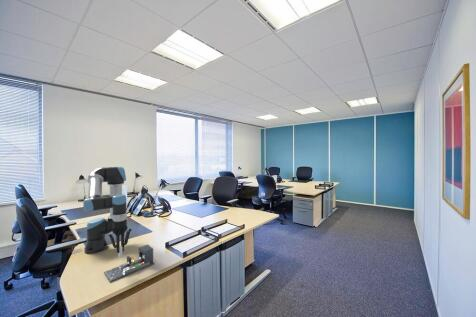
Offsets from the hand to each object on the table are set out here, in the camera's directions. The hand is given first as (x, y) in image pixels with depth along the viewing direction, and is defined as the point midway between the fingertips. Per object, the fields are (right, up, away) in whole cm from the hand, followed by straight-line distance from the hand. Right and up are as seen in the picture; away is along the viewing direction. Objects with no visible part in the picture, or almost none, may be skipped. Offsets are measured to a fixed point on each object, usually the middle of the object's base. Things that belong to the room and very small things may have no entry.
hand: (120, 257), depth 124 cm
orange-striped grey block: (+8, -8, +7) cm, 13 cm away
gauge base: (+4, -9, +4) cm, 11 cm away
